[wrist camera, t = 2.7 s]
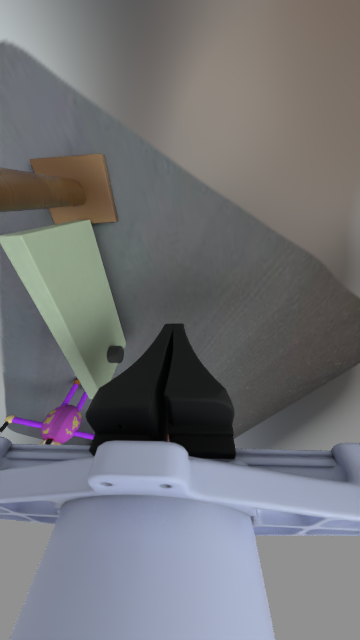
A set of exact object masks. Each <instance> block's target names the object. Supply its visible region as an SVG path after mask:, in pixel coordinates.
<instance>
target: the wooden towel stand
mask: <svg viewBox="0 0 360 640" xmlns="http://www.w3.org/2000/svg"><path fill="white" fill-rule="evenodd" d="M30 162H31V165H32V167H33V170H34V172H35V173H31V172H25V171H19V170H12V169H6V168H0V212H8V211H21V210H34V209H47V208H49V211H50V213H51V216H52V218H53V221H54V223H55V224H59V223H64V222H69V221H74V220H88V219H89V220H90V222H91V223H108V222H117V221H118V218H117V213H116V209H115V204H114V199H113V195H112V190H111V185H110V181H109V176H108V171H107V167H106V162H105V157H104V155H102V154H90V155H78V156H65V157H52V158H39V159H30Z"/></svg>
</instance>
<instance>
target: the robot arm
mask: <svg viewBox="0 0 360 640" xmlns="http://www.w3.org/2000/svg"><path fill="white" fill-rule="evenodd" d="M86 418H87V421H88V423H89V424H90V426H91V427H92V429H93V430H94V431H95V436H94V438H93V441H92V443H91V446H86V445H38V444H35V445H34V444H12V443H11V442H10V441H9V440H8V439H6V438H4V437H0V519H5V520H16V521H27V522H36V523H45V524H55V527H54V529H53V532H52V534H51V537H50V539H49V541H48V544H47V546H46V549H45V552H44V554H43V556H42V559H41V561H40V564H39V566H38V569H37V571H36V574H35V576H34V579H33V581H32V584H31V586H30V588H29V591H28V593H27V596H26V598H25V601H24V603H23V606H22V608H21V611H20V613H19V616H18V619H17V621H16V623H15V626H14V628H13V631H12V633H11V636H10V638H9V640H275V636H274V631H273V626H272V621H271V616H270V611H269V606H268V601H267V595H266V591H265V586H264V580H263V575H262V570H261V565H260V560H259V555H258V550H257V545H256V539H255V536H257V535H258V536H260V535H261V536H263V535H264V536H267V535H345V536H360V443H340V444H337V445H335V446H334V447H333V448H332V450H331V451H321V450H320V451H318V450H274V449H273V450H272V449H235V444H234V439H233V435H234V434H233V427H232V423H233V419H234V408H233V405H232V402H231V400H230V397H229V395H228V393H227V391H226V389H225V388H224V387H223V386H222V385H221V384H220V383H219V382H218V381H217V380H216V379H215V378H214V377H213V376H212V375H211V374H210V373H209V372H208V370H207V369H206V368H205V367H204V366H203V364H202V363H201V362H200V360H199V359H198V357H197V356H196V354H195V352H194V351H193V349H192V347H191V345H190V343H189V341H188V338H187V336H186V333H185V329H184V324H165V325H164V327H163V329H162V330H161V332H160V333H159V335H158V336H157V338H156V339H155V341H154V342H153V343H152V345H151V346H150V347H149V348H148V349H147V351H146V352H145V353H144V354H143V355H142V356H141V357H140V358H139V359H138V360H137V361H136V362H135V363H134V364H133V365H132V366H130V367H129V368H128V369H127V370H125V371H124V372H123V373H121V374H120V375H119V376H117V377H116V378H114V379H113V380H111V381H110V382H108V383H106V384H105V385H103V386H101V387H100V388H99V389H98V391H97V392H96V394H95V396H94V398H93V400H92V402H91V404H90V406H89V408H88V410H87V412H86ZM168 436H169V441H170V442H168Z"/></svg>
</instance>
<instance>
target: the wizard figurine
mask: <svg viewBox="0 0 360 640" xmlns="http://www.w3.org/2000/svg"><path fill="white" fill-rule="evenodd" d="M79 385H80V381H79V380H78V379H76V380H75V381H74V385H73V387H72V388H71V390H70V392H69V393H68V395H67V396H66V398H65V400H64V401H63V403H62V405H61V406H60V407H58V408H56V409H54V410H53V411H51V412H50V413H49V414H48V415H47V417H46V418H45V420H44V422H43V423H41V422H36V421H32V420H26V419H22V418H17V417H15V416H14V415H10V416H8V417H7V418H6V419H5V423H4V424H3V426H2V427H1V428H0V434H1V433H2V431H3V430H4V429H5V428H6V426H7V425H8V424H9V423H12V422H13V423H18V424H22V425H27V426H32V427H37V428H41V436H42V438H43V440H44V441H42V442H41V443H40V444H39V445H60V444H62V443H64V442H66V441H68V440H69V439H71V438H72V437H73V436H77V437H82V438H87V439H92V440H93V438H94V436H95V434H90V433H85V432H80V431H78V429H79V427H80V424H81V413H80V411H81V409H82V407H83V405H84V403H85V401H86V398H87V396H88V395H87V394H86V392H84V394H83V396H82V398H81V400H80V402H79V403H78V405H77V407H75V406H73V405H68V403H69V401H70V400H71V398H72V396H73V394H74V393H75V391H76V389H77V387H78V386H79Z"/></svg>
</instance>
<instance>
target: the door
mask: <svg viewBox="0 0 360 640" xmlns="http://www.w3.org/2000/svg"><path fill="white" fill-rule="evenodd" d="M0 244H1V246H2V247H3V249H4V251H5V253H6V254H7V256H8V258H9V260H10V261H11V263H12V265H13V266H14V268H15V270H16V272H17V273H18V275H19V277H20V279H21V280H22V282H23V284H24V286H25V287H26V289H27V291H28V293H29V294H30V296H31V298H32V300H33V301H34V303H35V305H36V307H37V308H38V310H39V312H40V313H41V315H42V317H43V319H44V320H45V322H46V324H47V326H48V327H49V329H50V331H51V333H52V334H53V336H54V338H55V340H56V341H57V343H58V345H59V347H60V348H61V350H62V352H63V354H64V355H65V357H66V359H67V360H68V362H69V364H70V366H71V367H72V369H73V371H74V373H75V374H76V376H77V378H78V380H79V381H80V383H81V385H82V387H83V388H84V390H85V392H86V394H87V395H88V397H89V399H93V398H94V396H95V394H96V392H97V391H98V389H99V388H100V387H101V386H103V385H105V384H106V383H108V382H110V381H111V379H112V376H113V374H114V371H115V369H116V367H117V364H118V363H121V362H122V360H123V357H124V348H125V345H126V342H125V338H124V335H123V331H122V328H121V325H120V321H119V318H118V314H117V311H116V307H115V304H114V301H113V297H112V294H111V290H110V287H109V283H108V280H107V277H106V273H105V270H104V266H103V263H102V259H101V256H100V253H99V249H98V246H97V242H96V239H95V235H94V232H93V229H92V225H91V222H90V220H89V219H88V220H74V221H69V222H64V223H59V224H54V225H49V226H45V227H40V228H35V229H30V230H25V231H20V232H15V233H10V234H5V235H0Z"/></svg>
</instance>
